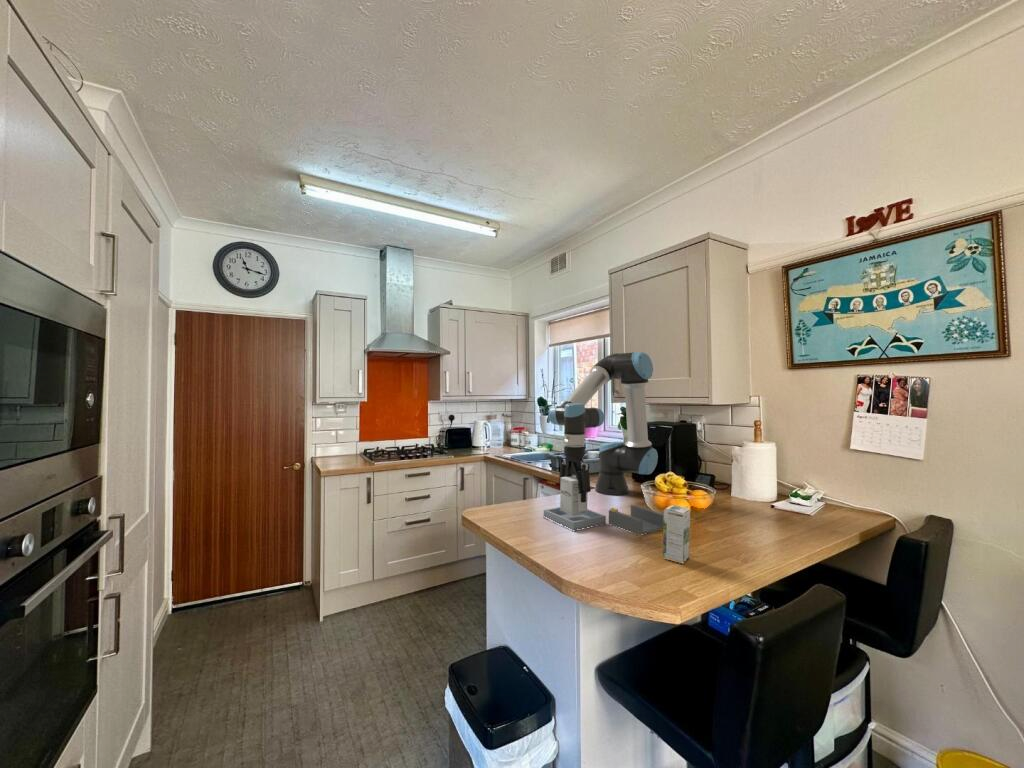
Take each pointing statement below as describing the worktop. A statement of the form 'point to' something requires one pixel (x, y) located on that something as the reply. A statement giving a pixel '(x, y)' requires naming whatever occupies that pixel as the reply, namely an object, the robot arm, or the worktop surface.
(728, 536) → the worktop surface
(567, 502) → the supplement box
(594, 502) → the worktop surface
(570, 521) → the tray
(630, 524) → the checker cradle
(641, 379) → the robot arm
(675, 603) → the worktop surface
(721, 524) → the worktop surface
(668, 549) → the syrup box
